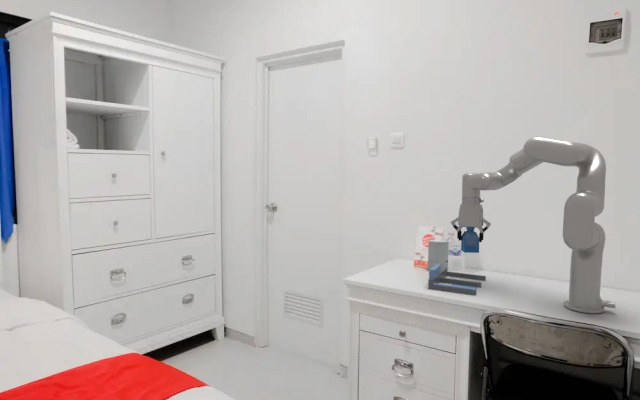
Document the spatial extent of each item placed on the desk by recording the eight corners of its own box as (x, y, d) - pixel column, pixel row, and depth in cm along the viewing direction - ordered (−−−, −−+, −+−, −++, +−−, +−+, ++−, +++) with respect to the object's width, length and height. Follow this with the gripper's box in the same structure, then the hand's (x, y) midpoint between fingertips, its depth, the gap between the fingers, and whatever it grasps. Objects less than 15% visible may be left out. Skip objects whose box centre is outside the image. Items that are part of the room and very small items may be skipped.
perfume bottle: (475, 250, 192) (475, 223, 191) (479, 252, 186) (479, 225, 185) (461, 250, 192) (461, 223, 192) (464, 252, 186) (464, 225, 185)
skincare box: (435, 272, 207) (436, 242, 206) (427, 269, 213) (427, 240, 212) (448, 270, 211) (449, 240, 210) (439, 268, 217) (440, 239, 216)
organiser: (485, 280, 193) (486, 262, 193) (476, 295, 170) (476, 275, 169) (443, 275, 202) (443, 258, 202) (428, 288, 179) (428, 270, 178)
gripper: (493, 201, 187) (492, 241, 188) (452, 200, 195) (451, 238, 196) (491, 202, 180) (490, 243, 181) (448, 201, 189) (448, 240, 190)
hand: (470, 240), depth 189 cm, fingers closed on perfume bottle, 8 cm apart
